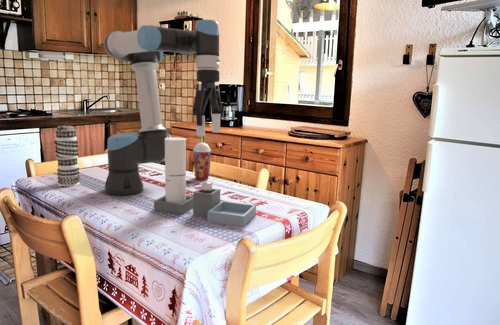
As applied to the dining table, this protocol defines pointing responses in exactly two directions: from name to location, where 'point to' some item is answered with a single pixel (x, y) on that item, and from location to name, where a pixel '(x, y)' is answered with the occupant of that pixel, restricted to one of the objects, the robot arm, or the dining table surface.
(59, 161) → the decorative candle
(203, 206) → the housing block
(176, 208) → the dark grey square bin
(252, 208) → the tray
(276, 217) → the dining table surface
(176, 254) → the dining table surface
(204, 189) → the plunger
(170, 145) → the white tall block
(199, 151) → the smoothie
